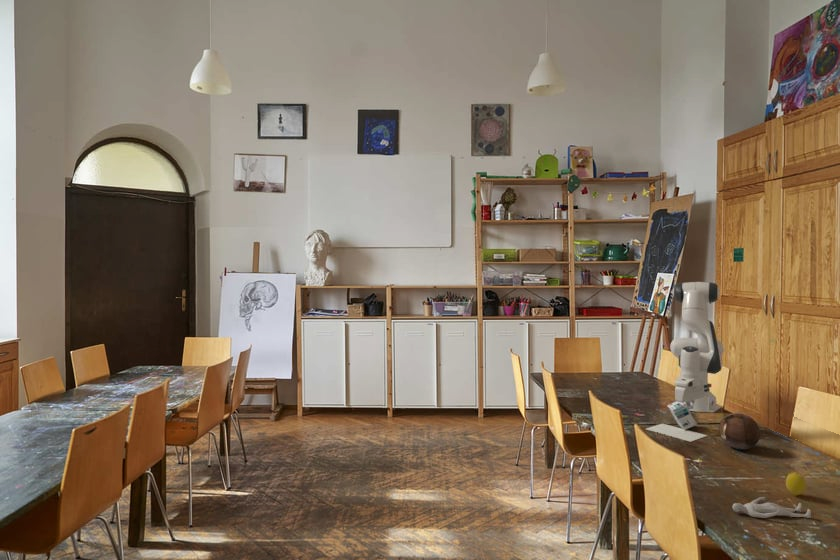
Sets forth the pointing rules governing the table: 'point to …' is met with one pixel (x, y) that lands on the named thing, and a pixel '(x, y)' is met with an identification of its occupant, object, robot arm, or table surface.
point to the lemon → (795, 483)
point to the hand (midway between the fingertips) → (690, 408)
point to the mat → (676, 432)
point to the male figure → (768, 509)
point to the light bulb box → (682, 415)
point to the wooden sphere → (739, 431)
